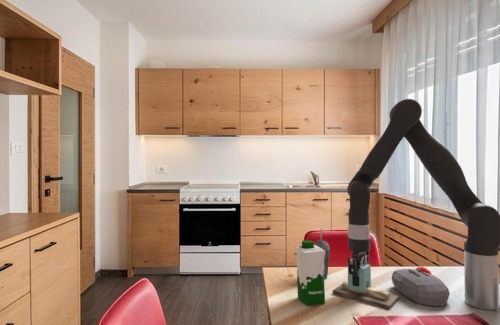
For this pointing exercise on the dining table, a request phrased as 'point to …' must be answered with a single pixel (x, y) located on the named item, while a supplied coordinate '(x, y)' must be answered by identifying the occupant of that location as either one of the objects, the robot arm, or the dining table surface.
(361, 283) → the saddle block
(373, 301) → the cleat board
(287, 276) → the dining table surface
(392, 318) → the dining table surface
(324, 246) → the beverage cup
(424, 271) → the cap
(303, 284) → the milk carton
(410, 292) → the soft grey pack
